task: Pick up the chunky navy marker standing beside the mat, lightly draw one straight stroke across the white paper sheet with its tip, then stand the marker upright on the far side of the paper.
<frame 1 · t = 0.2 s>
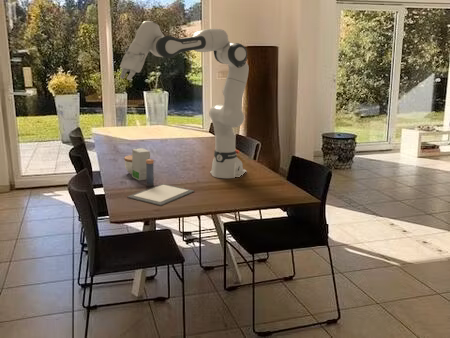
hand: (125, 79, 221), 54 cm above the table, tool tilted 30°, fingers open, 8 cm apart
marker: (150, 185, 238), on the table
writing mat: (161, 194, 225), on the table
skincare box: (141, 178, 252), on the table
lidded bowl: (136, 173, 261), on the table
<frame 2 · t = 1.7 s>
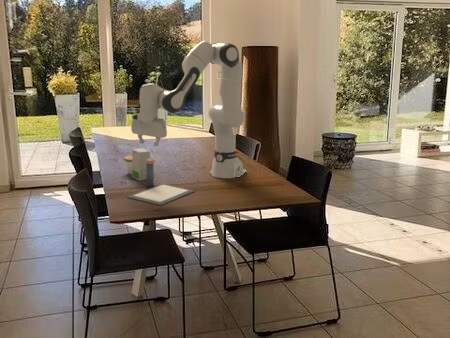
hand: (149, 144, 233), 21 cm above the table, tool pointing down, fingers open, 8 cm apart
nothing on the table moved.
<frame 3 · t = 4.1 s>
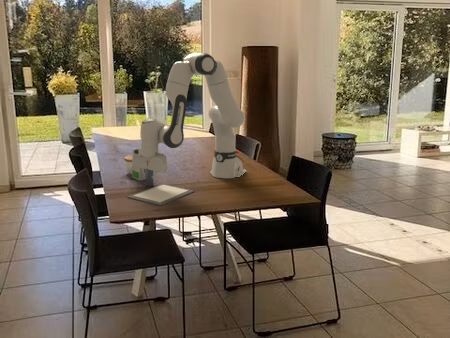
hand: (150, 177, 237), 4 cm above the table, tool pointing down, fingers closed on marker, 4 cm apart
marker: (150, 185, 238), on the table, touching gripper
everything else where it was.
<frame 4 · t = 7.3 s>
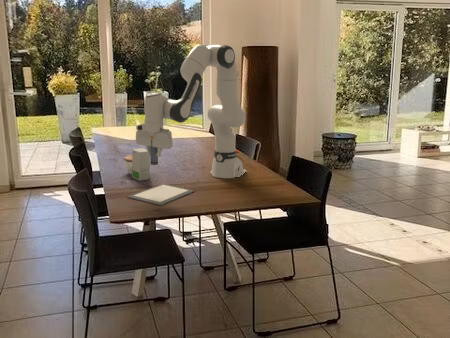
hand: (154, 155, 225), 18 cm above the table, tool pointing down, fingers closed on marker, 4 cm apart
marker: (154, 164, 226), point 14 cm above the table, touching gripper
everything else where it was.
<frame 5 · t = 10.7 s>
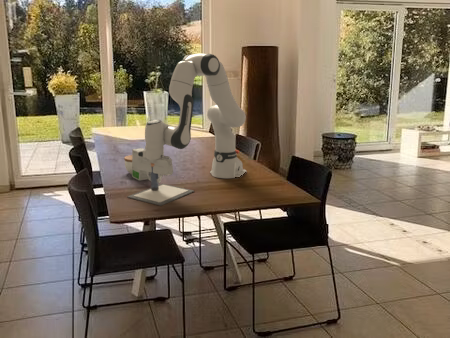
hand: (154, 181, 228), 5 cm above the table, tool pointing down, fingers closed on marker, 4 cm apart
marker: (154, 189, 229), point 1 cm above the table, touching gripper
everything else where it was.
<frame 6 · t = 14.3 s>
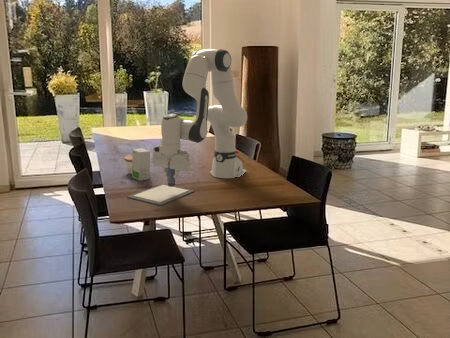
hand: (171, 177, 222), 9 cm above the table, tool pointing down, fingers closed on marker, 4 cm apart
marker: (171, 185, 224), point 5 cm above the table, touching gripper
everything else where it was.
when the fingers open (5 cm above the table, at t = 17.4 s): marker stays where it is, resting on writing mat.
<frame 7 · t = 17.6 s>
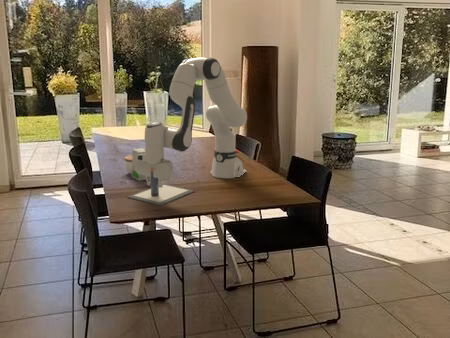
hand: (154, 186, 219), 5 cm above the table, tool pointing down, fingers open, 5 cm apart
marker: (154, 195, 220), point 1 cm above the table, touching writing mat
everything else where it was.
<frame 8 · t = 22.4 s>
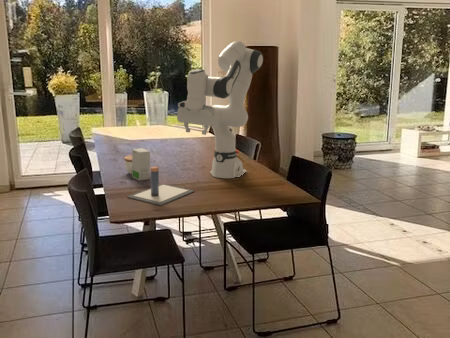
hand: (196, 133, 224), 29 cm above the table, tool pointing down, fingers open, 8 cm apart
nothing on the table moved.
at the end: marker inside the target area on the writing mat (0.5 cm from its centre), point 0.9 cm above the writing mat's base; marker tilted 0°; the gripper is holding nothing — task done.
